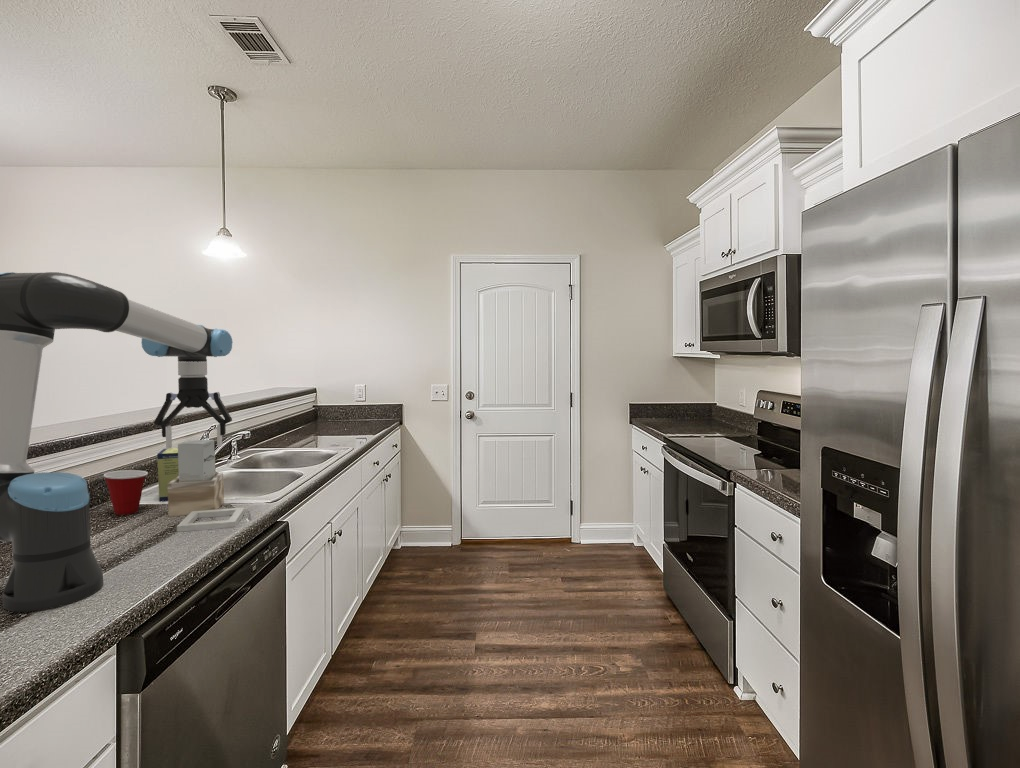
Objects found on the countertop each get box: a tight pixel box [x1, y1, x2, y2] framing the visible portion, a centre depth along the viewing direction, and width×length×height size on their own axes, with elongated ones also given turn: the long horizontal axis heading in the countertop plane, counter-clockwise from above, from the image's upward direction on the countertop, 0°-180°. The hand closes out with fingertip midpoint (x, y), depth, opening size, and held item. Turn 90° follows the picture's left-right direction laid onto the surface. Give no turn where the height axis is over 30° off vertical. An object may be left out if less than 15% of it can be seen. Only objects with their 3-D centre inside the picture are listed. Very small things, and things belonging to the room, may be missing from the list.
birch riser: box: [167, 471, 225, 517], centre depth 164 cm, size 12×12×10 cm
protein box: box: [156, 445, 217, 502], centre depth 179 cm, size 10×16×16 cm
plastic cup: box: [103, 469, 149, 516], centre depth 160 cm, size 11×11×12 cm
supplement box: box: [177, 439, 216, 482], centre depth 163 cm, size 7×7×13 cm
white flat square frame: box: [176, 507, 246, 533], centre depth 152 cm, size 14×14×2 cm
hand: (194, 447), depth 163 cm, fingers open, 13 cm apart
